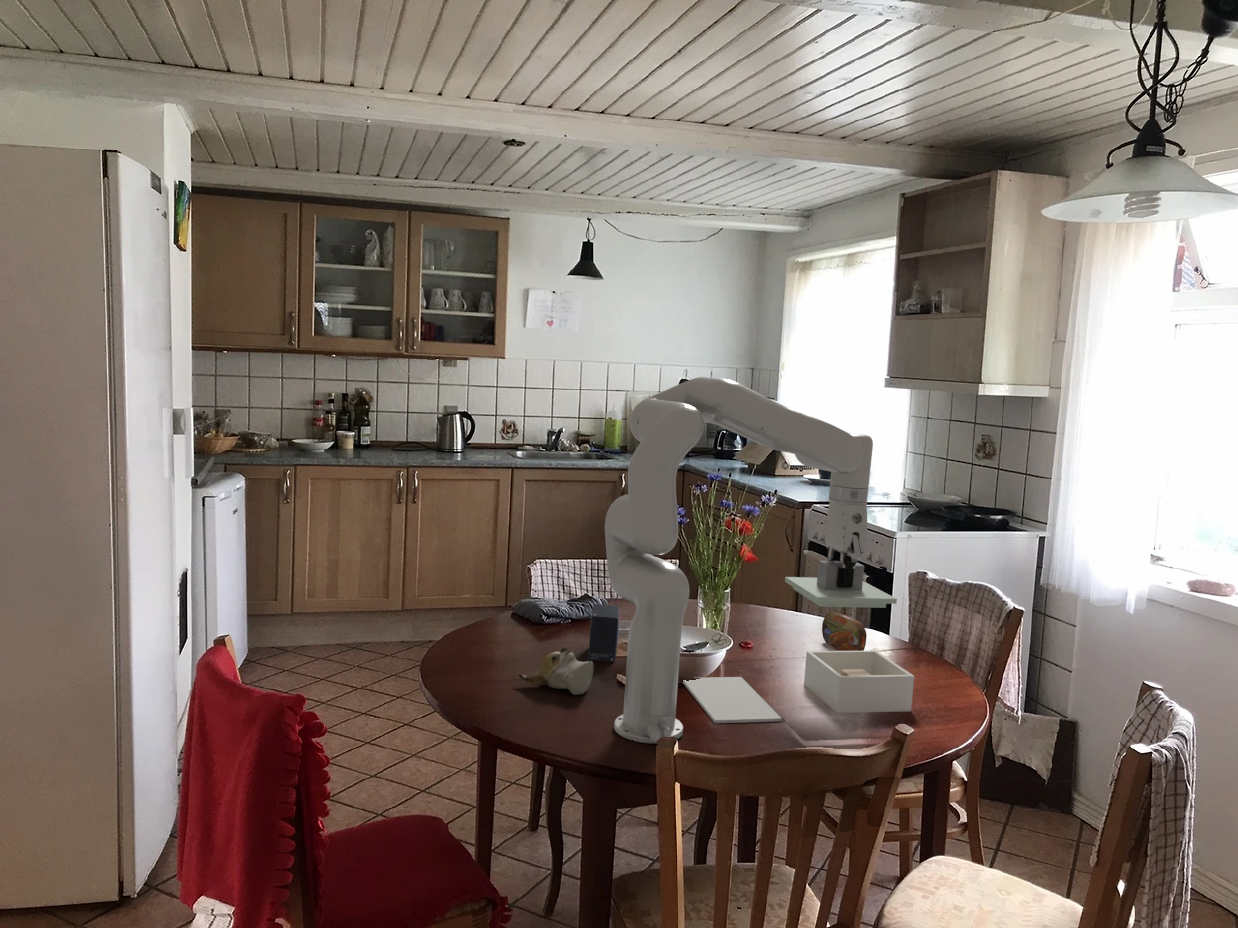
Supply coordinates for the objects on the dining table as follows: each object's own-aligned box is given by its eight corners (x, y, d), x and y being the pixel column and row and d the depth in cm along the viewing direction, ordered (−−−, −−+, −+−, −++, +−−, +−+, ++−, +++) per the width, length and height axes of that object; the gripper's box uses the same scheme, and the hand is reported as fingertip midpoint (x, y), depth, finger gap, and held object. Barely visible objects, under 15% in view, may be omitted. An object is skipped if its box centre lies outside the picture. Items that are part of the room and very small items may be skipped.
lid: (895, 609, 183) (899, 573, 182) (816, 608, 179) (820, 571, 178) (857, 588, 199) (860, 555, 198) (784, 587, 195) (787, 553, 195)
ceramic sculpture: (576, 660, 180) (516, 647, 188) (576, 704, 181) (516, 690, 189) (607, 648, 189) (548, 636, 197) (606, 690, 190) (547, 677, 198)
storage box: (910, 714, 186) (914, 676, 185) (836, 716, 183) (839, 677, 182) (872, 686, 202) (875, 650, 201) (803, 687, 198) (806, 651, 197)
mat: (827, 720, 181) (828, 717, 181) (714, 723, 176) (714, 720, 176) (782, 679, 203) (782, 676, 203) (681, 680, 198) (681, 678, 198)
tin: (819, 641, 233) (822, 608, 232) (830, 640, 235) (833, 607, 234) (855, 660, 220) (859, 625, 219) (866, 659, 221) (870, 625, 220)
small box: (616, 663, 207) (619, 617, 206) (587, 661, 207) (589, 615, 206) (617, 648, 217) (620, 604, 216) (589, 647, 217) (592, 603, 216)
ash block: (872, 701, 190) (874, 677, 190) (850, 702, 189) (852, 678, 189) (861, 692, 195) (863, 669, 195) (839, 693, 194) (841, 669, 193)
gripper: (885, 502, 179) (875, 595, 181) (847, 489, 196) (838, 575, 198) (849, 500, 178) (839, 594, 180) (813, 488, 194) (805, 574, 196)
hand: (839, 583), depth 189 cm, fingers closed on lid, 4 cm apart
